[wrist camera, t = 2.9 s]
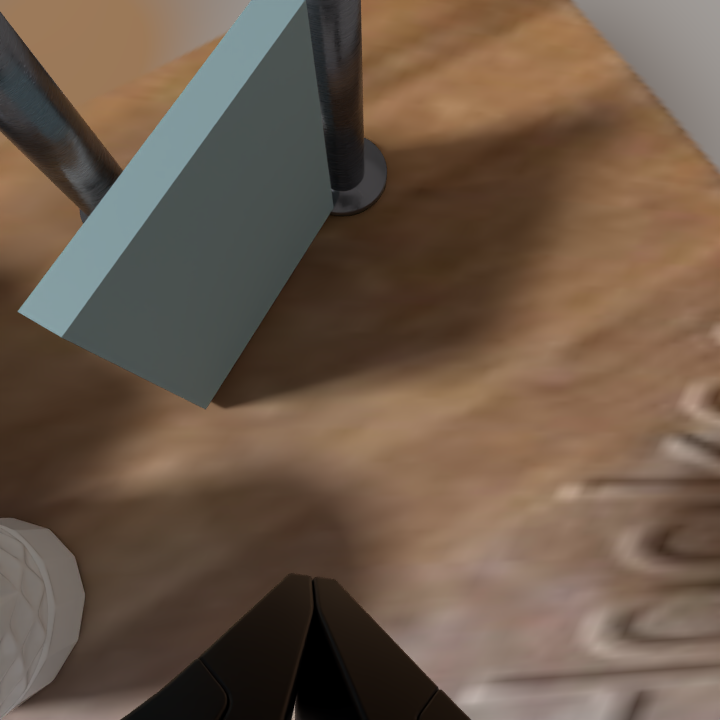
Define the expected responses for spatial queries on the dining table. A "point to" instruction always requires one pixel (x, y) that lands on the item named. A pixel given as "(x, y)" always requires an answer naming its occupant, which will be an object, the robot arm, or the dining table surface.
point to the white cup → (35, 609)
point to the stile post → (50, 127)
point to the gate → (202, 215)
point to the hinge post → (344, 106)
